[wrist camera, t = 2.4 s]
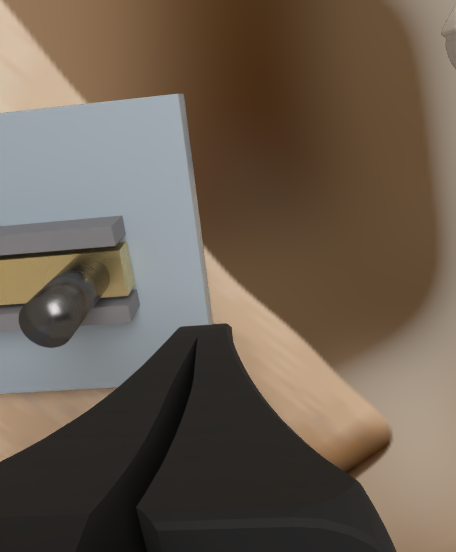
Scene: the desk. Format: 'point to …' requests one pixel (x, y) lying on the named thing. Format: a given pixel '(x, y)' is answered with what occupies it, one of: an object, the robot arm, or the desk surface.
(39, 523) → the robot arm
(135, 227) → the sliding latch plate
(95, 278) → the bolt
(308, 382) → the desk surface
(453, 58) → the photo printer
